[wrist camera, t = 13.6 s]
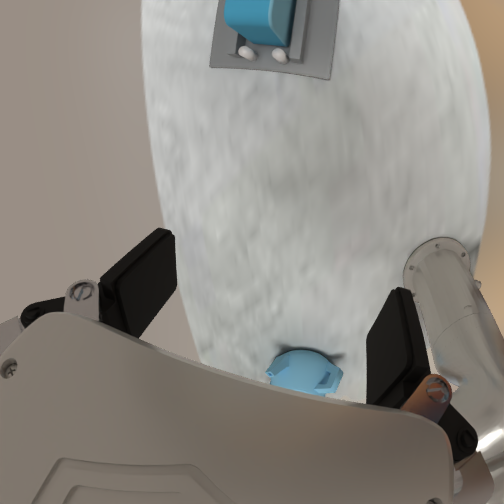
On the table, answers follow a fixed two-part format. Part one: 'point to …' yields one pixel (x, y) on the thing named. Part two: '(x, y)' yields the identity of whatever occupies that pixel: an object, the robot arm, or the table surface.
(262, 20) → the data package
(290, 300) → the table surface
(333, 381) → the teapot
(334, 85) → the table surface
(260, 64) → the tray
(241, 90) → the table surface
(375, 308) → the table surface
